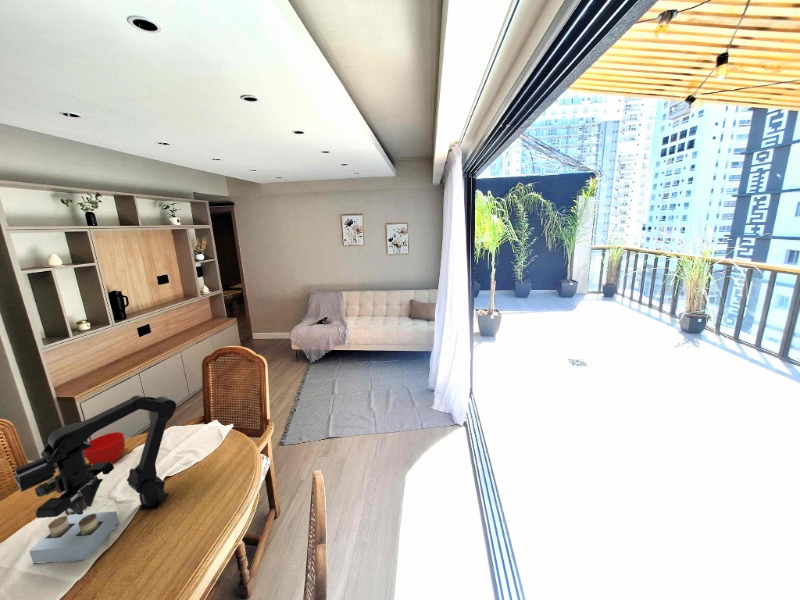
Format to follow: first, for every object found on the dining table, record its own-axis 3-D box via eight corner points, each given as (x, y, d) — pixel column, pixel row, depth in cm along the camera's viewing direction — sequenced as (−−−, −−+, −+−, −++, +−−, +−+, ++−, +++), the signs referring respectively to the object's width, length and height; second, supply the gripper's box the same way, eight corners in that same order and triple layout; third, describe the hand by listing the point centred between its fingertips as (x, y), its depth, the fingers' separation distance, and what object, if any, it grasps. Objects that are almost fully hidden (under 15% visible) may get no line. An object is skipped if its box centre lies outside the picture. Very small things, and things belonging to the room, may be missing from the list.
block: (119, 523, 103) (116, 511, 102) (85, 559, 92) (81, 546, 91) (73, 527, 103) (69, 514, 102) (33, 564, 91) (28, 550, 90)
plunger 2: (102, 524, 99) (99, 513, 98) (91, 535, 95) (88, 524, 94) (89, 525, 98) (86, 514, 98) (77, 536, 94) (74, 525, 94)
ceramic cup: (68, 475, 126) (62, 454, 124) (116, 449, 142) (111, 430, 140) (88, 482, 122) (82, 460, 120) (135, 453, 138) (130, 434, 136)
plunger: (73, 526, 98) (70, 515, 97) (61, 538, 94) (57, 527, 93) (60, 527, 98) (57, 516, 97) (47, 539, 94) (44, 528, 93)
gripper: (75, 448, 101) (86, 488, 104) (7, 494, 82) (23, 541, 85) (110, 446, 101) (120, 485, 104) (50, 491, 83) (64, 538, 86)
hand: (84, 510), depth 95 cm, fingers open, 3 cm apart
